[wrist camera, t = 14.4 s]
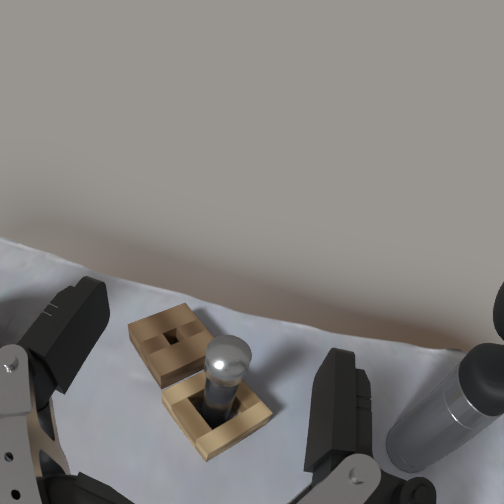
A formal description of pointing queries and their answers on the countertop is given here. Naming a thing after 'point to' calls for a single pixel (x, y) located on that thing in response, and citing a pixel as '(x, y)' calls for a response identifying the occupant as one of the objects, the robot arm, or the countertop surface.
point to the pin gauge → (223, 376)
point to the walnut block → (166, 333)
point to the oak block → (195, 427)
